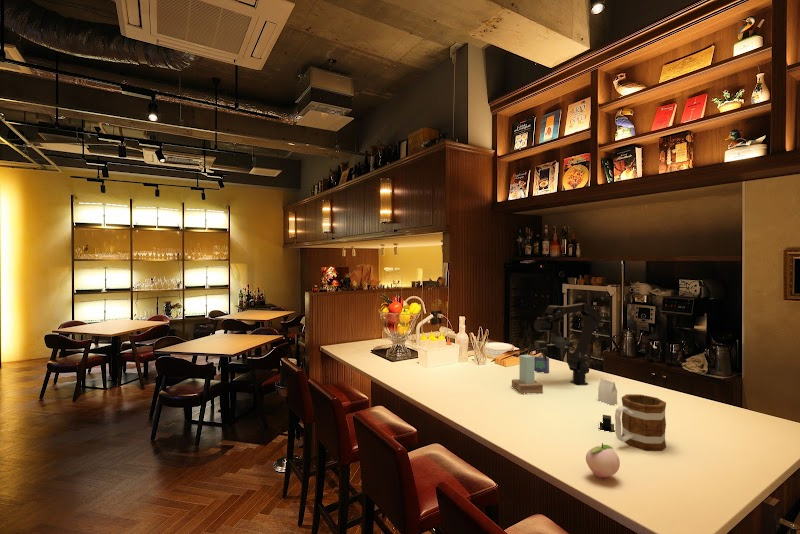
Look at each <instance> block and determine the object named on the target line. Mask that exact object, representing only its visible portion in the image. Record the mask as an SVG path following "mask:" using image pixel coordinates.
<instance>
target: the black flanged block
mask: <svg viewBox="0 0 800 534" xmlns="http://www.w3.org/2000/svg"><path fill="white" fill-rule="evenodd" d="M599 422H600V428H599V427H598V430H599V429H600V430H604V431H603V432H606V431H609V432H608V433H612V432H615V433H616V429H615V430H614V424H615V423H612V415H607V414H602V421H599ZM602 422H603V423H602ZM600 430H599V431H600Z"/></svg>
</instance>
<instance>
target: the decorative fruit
mask: <svg viewBox="0 0 800 534" xmlns="http://www.w3.org/2000/svg"><path fill="white" fill-rule="evenodd" d="M613 449H614V448H613V446H611V445H609V444H604V443H603V442H602V443H601V445H596V446H594V447H592V448H590V449H589V450H588V451H587V453H586V455H585V462H586V464H587V466H588V469H590V471H591V472H592V473H594V474H595V475H596V476H597V477H600V478H603V479H604V478H608V477H610V476H613V475H615V474H616V473H618V471H619V469H620V466H621V465H620V463H621V462H620V458H619V455H618V453H616V451H615V450H613Z"/></svg>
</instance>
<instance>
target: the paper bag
mask: <svg viewBox="0 0 800 534" xmlns="http://www.w3.org/2000/svg"><path fill="white" fill-rule="evenodd" d="M597 389H598V392H597V393H598V394H597V395H598V396H597V398H598V400H597V401H598V402H600V401H601V402H600V403H603V402H604V404H605V403H607V404H606V405H608V404H609V406H611V405H612V406H616V405H615V404H617V405H618V389H617V387H616V382H614V381H611V380H607V379H605V378H604V379H603V378H601V379H600V382H599V385H598V388H597Z"/></svg>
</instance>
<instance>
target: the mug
mask: <svg viewBox="0 0 800 534" xmlns="http://www.w3.org/2000/svg"><path fill="white" fill-rule="evenodd" d="M621 402H622V403H621V404H622V406H621V405H620V406H618V407H617V408H616V409H615V412H614V422H615V423H614V424H615V437H616V439H617V440H618V441H621V442H623V443H625V444H626V445H627V446H628V447H632V448H634V449H637V450H641V451H645V452H663V451H664V450H665V448H666V447H667V443H666V427H667V422H666V421H667V420H666V407H667V402H666V401H664V400H662V399H660V398H658V397H655V396H650V395H645V394H640V393H639V394H636V393H635V394H625V395H623V396H622V397H621Z"/></svg>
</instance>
